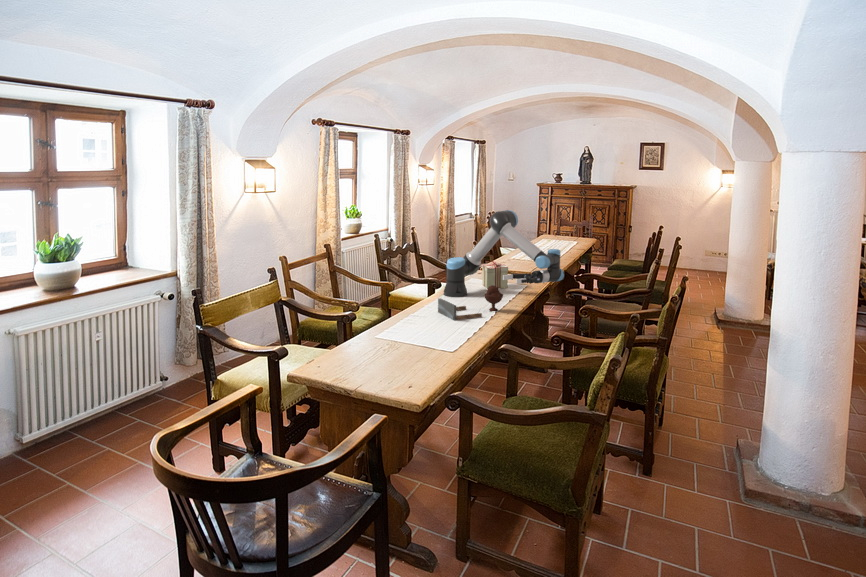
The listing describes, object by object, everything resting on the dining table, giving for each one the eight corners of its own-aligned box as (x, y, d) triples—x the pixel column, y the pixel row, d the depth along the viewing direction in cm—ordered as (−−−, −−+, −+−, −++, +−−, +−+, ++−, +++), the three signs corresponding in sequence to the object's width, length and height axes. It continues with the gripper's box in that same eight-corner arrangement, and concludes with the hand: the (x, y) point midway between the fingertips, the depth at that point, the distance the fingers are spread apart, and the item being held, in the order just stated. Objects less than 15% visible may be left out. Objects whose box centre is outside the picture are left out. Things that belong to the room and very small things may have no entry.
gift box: (476, 285, 415) (476, 260, 411) (501, 284, 419) (502, 259, 416) (484, 290, 399) (484, 264, 395) (510, 289, 403) (510, 263, 399)
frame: (464, 309, 346) (465, 295, 345) (481, 317, 329) (482, 302, 328) (438, 312, 339) (438, 298, 337) (453, 320, 322) (454, 305, 320)
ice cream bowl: (504, 312, 339) (505, 286, 336) (485, 312, 338) (485, 287, 335) (501, 308, 350) (502, 283, 346) (482, 308, 349) (482, 283, 346)
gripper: (552, 286, 343) (521, 289, 334) (527, 279, 365) (498, 282, 356) (553, 273, 341) (521, 276, 332) (528, 267, 363) (498, 269, 354)
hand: (509, 279), depth 344 cm, fingers open, 13 cm apart
